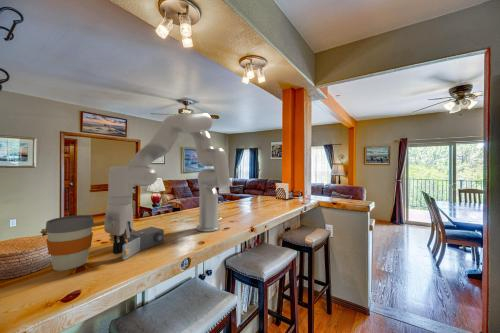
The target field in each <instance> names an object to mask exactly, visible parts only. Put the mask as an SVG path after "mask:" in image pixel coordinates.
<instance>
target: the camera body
mask: <svg viewBox="0 0 500 333" xmlns="http://www.w3.org/2000/svg"><path fill="white" fill-rule="evenodd" d="M164 231H165V230H164V228H159V227H155V226H154V227H153V226H149V227H146V228H141V229H139V230H135V231H134V232H131V233H130V238H128V239H127V243H129V242H131V241H133V240H135V239H137V238H138V237H140V251H139V252H141V251H143V250H146V249H149V248H151V247H154V246H157V245H160V244H162V243H164V242H165V241H164V236H165V235H164V234H165V233H164Z"/></svg>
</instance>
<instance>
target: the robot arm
mask: <svg viewBox="0 0 500 333" xmlns="http://www.w3.org/2000/svg"><path fill="white" fill-rule="evenodd" d="M212 127H213V118H212V117H211V115H210V114H209V113H207V112H203V111H202V112H192V113H191V112H190V113H178V114H174V115H168V116H167V117H166V118H165V119H164V120H163V121H162V122H161V124H160V126H159V127H158V128H157V130H156V132H155V133H154V134H153V136H152V138H151V139H150V140H149V141H148V142H147V143H146V144H145V145H144V146H143V147H142V148H140V150H138V151H137V152H136V153H135V154H134V155H133V157H132V158H131V159H130V161H129V162H128V164H127V165H126V166H123V165H122V166H120V165H119V166H111V167H110V168H109V169H108V186H107V187H108V189H107V190H108V191H107V194H108V195H107V207H106V210H105V211H106V212H105V218H104V228H103V229H104V232H105V233H107V234H109V235H110V236H111V240H112V242H113V243H112V254H113V255H119V254H123V245H125V244H126V243H125V241H126V242H127V239H126V238H130V233H131V232H132V230H134V215H133V214H134V212H133V211H134V210H133V195H134V194H133V192H134V191H133V190H134V188H133V187H134V186H136V187H137V186H139V187H149V186H152V185H153V184H155V183H156V182H157V179H158V174H157V172H156V170H155V169H154V168H152V167H150V165H151V164H152V163H153V162H155V161H156V160H158V159H160V158H162V157H164V156H166V155H167V154H168V153H171V150H172V149H173V146H174V144H175V143H176V141H177V140H178V138H179V136H181V135H187V134H189V135H190V136H191V137H192V139H193V141H194V145H195V151H196V157H197V158H196V159H197V162H198V164H199V165H200V166H202V167H207V168H203V169H201V170H200V171H199V172H198V174H197V182H198V189H199V190H198V191H199V199H198V201H199V206H198V207H199V208H198V209H199V214H198V215H199V216H198V217H199V218H198V219H199V220H198V221H199V223H198V225H196V227H195V229H196V230H197V231H199V232H205V233H206V232H216V231H218V230H220V229H221V227H222V226H221V225H220V224H219V223H220V222H222V221H223V218H222V217H219V213H218V210H219V206H218V204H219V195H218V194H219V193H218V190H217V188H219V189H220V188H226V187H227V186H228V185H229V183H230V177H231V176H230V167H229V161H228V156H227V153H226V151H225V149H223V148H221V147H217V146H215V147H213V140H212V137H211V134H210V133H209V132H208V131H209V130H210V129H211V128H212ZM211 167H213V168H211ZM218 217H219V218H218Z"/></svg>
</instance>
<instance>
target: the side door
mask: <svg viewBox="0 0 500 333" xmlns="http://www.w3.org/2000/svg"><path fill="white" fill-rule="evenodd" d="M139 252H141V251H140V237H138V238H137V239H135V240H133V241H131V242H129V243H128V242H127V243H125V245H123V252H122V261H126V260H127V259H128V258H130V257H132V256H133V255H135V254H137V253H139Z"/></svg>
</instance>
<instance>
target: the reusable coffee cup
mask: <svg viewBox="0 0 500 333" xmlns="http://www.w3.org/2000/svg"><path fill="white" fill-rule="evenodd" d="M94 224H95V222H94V216H92V215H88V214H78V215H77V214H76V215H68V216H61V217H60V216H59V217H56V218H52V219H49V220H47V221H46V223H45V230H44V232H45V233H46V235H47V236H46V237H47V239H46V240H45V241H46V246H47V253H48V255H49V256H50V259H51V266H52V269H53V270H54V271H66V270H71V269H76V268H78V267H81V266H84V265H85V264H86V263H87V262H88V258H89V251H90V248H91V247H92V241H93V235H94V232H93V228H94V227H93V226H94Z"/></svg>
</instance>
